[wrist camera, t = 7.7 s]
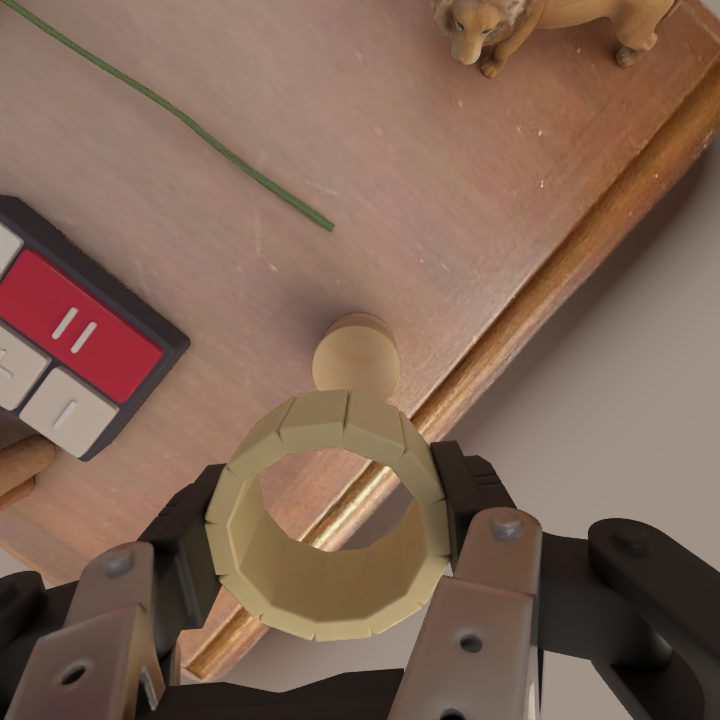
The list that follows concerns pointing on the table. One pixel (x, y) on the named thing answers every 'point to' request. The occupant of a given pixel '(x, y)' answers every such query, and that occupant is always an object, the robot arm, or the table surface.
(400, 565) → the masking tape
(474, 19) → the lion figurine
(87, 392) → the calculator
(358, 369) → the tan wooden cylinder
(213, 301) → the table surface
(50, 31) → the flower
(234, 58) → the table surface
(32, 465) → the figurine
